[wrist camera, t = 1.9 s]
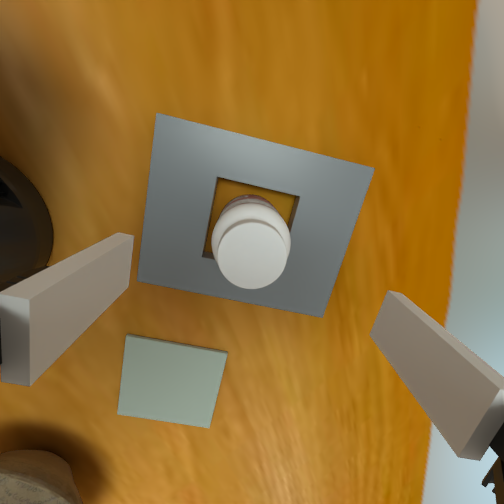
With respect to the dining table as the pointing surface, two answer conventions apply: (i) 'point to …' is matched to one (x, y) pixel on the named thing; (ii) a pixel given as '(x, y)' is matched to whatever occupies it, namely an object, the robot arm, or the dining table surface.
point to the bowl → (36, 479)
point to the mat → (170, 381)
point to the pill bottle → (251, 242)
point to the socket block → (255, 173)
